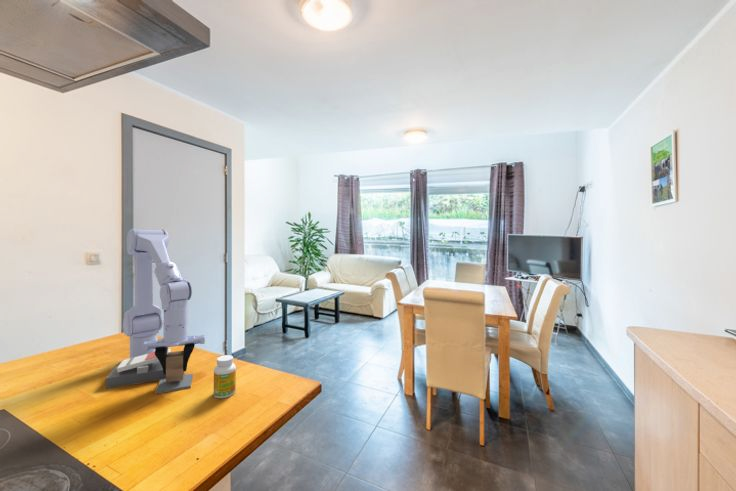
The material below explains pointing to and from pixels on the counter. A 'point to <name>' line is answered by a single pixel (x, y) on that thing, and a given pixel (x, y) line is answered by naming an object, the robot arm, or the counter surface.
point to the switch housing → (135, 375)
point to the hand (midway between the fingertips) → (175, 371)
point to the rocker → (138, 361)
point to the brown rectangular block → (174, 366)
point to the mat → (174, 384)
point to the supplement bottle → (224, 377)
